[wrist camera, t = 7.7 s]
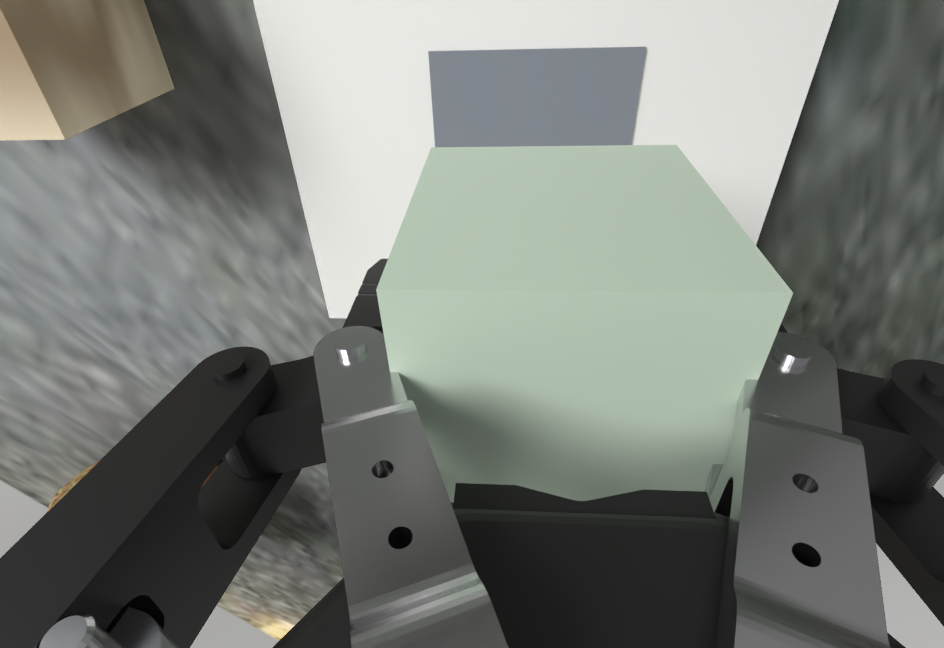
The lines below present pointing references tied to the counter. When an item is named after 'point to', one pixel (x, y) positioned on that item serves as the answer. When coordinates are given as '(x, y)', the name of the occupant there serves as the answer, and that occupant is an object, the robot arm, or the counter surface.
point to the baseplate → (526, 97)
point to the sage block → (575, 317)
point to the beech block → (75, 65)
